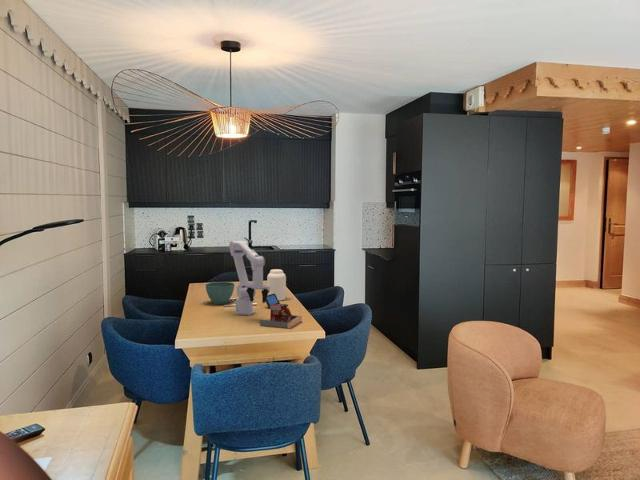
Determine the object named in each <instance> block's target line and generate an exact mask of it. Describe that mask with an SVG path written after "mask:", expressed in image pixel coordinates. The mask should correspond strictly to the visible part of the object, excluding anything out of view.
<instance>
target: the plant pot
mask: <svg viewBox="0 0 640 480" xmlns="http://www.w3.org/2000/svg"><path fill="white" fill-rule="evenodd" d="M234 289H235V283H233V282H230V281H213V282H208V283H206V284H205V291H206V294H207V296H208V298H209V299H210V301H211V302H212V303H213V304H215V305H225V304H228V302H229V300H230V299H231V298H232V296H233V293H234Z"/></svg>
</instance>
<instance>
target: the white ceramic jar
mask: <svg viewBox="0 0 640 480" xmlns="http://www.w3.org/2000/svg"><path fill="white" fill-rule="evenodd" d="M266 279H267V282H266V286H270V290H269V292H268V295H271V294H275V295H276V297H277V299H278V301H279V302H280V301H285V300H286V298H287V296H286V295H287V291H286V290H287V276H286V273H284V270H282V269H277V268H274V269H270V271H269V273H268V274H267V277H266Z"/></svg>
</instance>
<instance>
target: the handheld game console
mask: <svg viewBox="0 0 640 480" xmlns="http://www.w3.org/2000/svg"><path fill="white" fill-rule="evenodd" d="M265 303H266V306H267V309H269V310H270V305H271V304H278V305H283V306H284V305H287V307H289V304H286V303H281V302H280V301H278V299H277V297H276V295H275V294H271V295H267V297H266V301H265Z"/></svg>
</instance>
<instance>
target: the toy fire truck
mask: <svg viewBox="0 0 640 480" xmlns="http://www.w3.org/2000/svg"><path fill="white" fill-rule="evenodd" d="M287 305H288V304H287ZM287 305H284V306H283V305H278V304H271V305H270V309H269V310H270V313H269V314H270V317H269V318H270V319H269V320H274V321H284V322H290V321H291V320H292V315H293V314H292V312H291V311H290V308H289V307H288V306H287ZM282 315H283V316H282ZM281 316H282V317H281Z"/></svg>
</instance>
